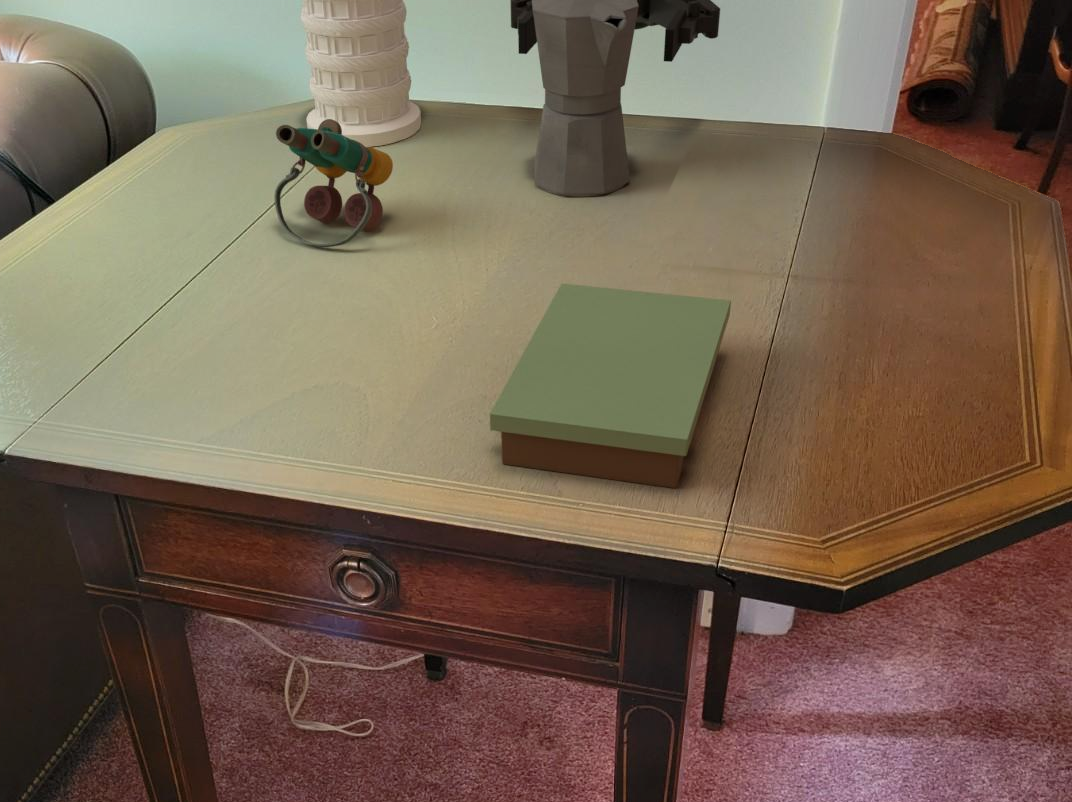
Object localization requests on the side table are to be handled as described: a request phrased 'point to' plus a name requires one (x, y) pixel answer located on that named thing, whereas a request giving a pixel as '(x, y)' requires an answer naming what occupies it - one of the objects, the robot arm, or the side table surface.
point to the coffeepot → (583, 94)
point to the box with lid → (611, 384)
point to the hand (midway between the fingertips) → (594, 42)
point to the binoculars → (335, 176)
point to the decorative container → (360, 69)
